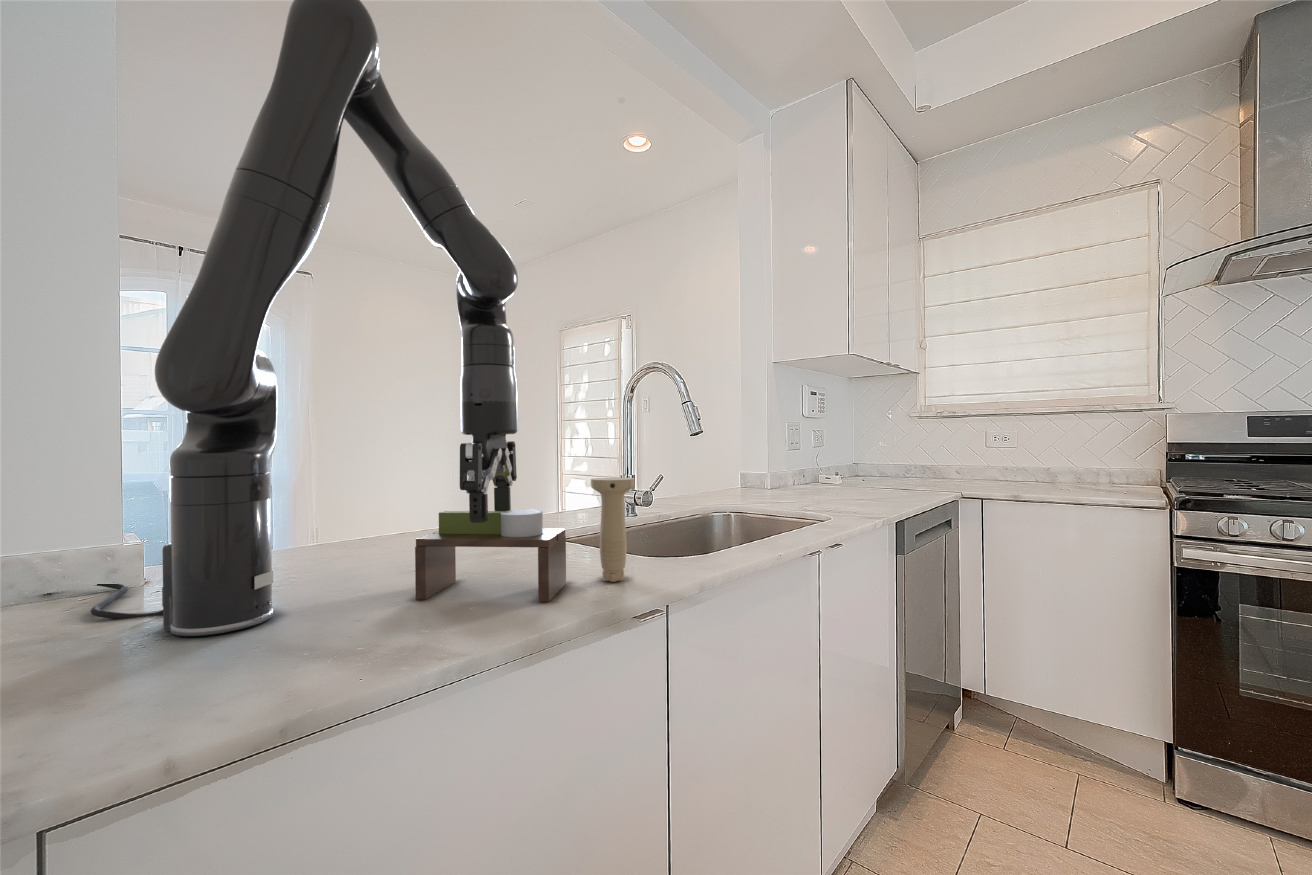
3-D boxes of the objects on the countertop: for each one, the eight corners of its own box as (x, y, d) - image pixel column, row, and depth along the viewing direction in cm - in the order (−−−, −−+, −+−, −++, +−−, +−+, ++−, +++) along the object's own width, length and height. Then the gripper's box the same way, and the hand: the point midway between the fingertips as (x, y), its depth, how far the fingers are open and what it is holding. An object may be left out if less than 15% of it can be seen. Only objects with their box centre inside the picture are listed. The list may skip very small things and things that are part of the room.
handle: (635, 583, 81) (634, 479, 81) (590, 584, 80) (590, 480, 80) (634, 575, 86) (633, 477, 86) (592, 576, 85) (591, 477, 85)
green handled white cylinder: (431, 536, 75) (431, 514, 75) (450, 529, 81) (450, 509, 81) (535, 537, 74) (535, 515, 74) (547, 530, 80) (547, 509, 80)
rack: (415, 599, 74) (414, 539, 74) (446, 581, 83) (446, 527, 83) (548, 602, 72) (548, 540, 72) (566, 583, 81) (565, 528, 81)
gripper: (483, 403, 85) (485, 510, 85) (438, 397, 71) (440, 525, 71) (531, 402, 84) (533, 510, 84) (496, 396, 70) (498, 525, 70)
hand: (491, 517), depth 77 cm, fingers open, 8 cm apart
